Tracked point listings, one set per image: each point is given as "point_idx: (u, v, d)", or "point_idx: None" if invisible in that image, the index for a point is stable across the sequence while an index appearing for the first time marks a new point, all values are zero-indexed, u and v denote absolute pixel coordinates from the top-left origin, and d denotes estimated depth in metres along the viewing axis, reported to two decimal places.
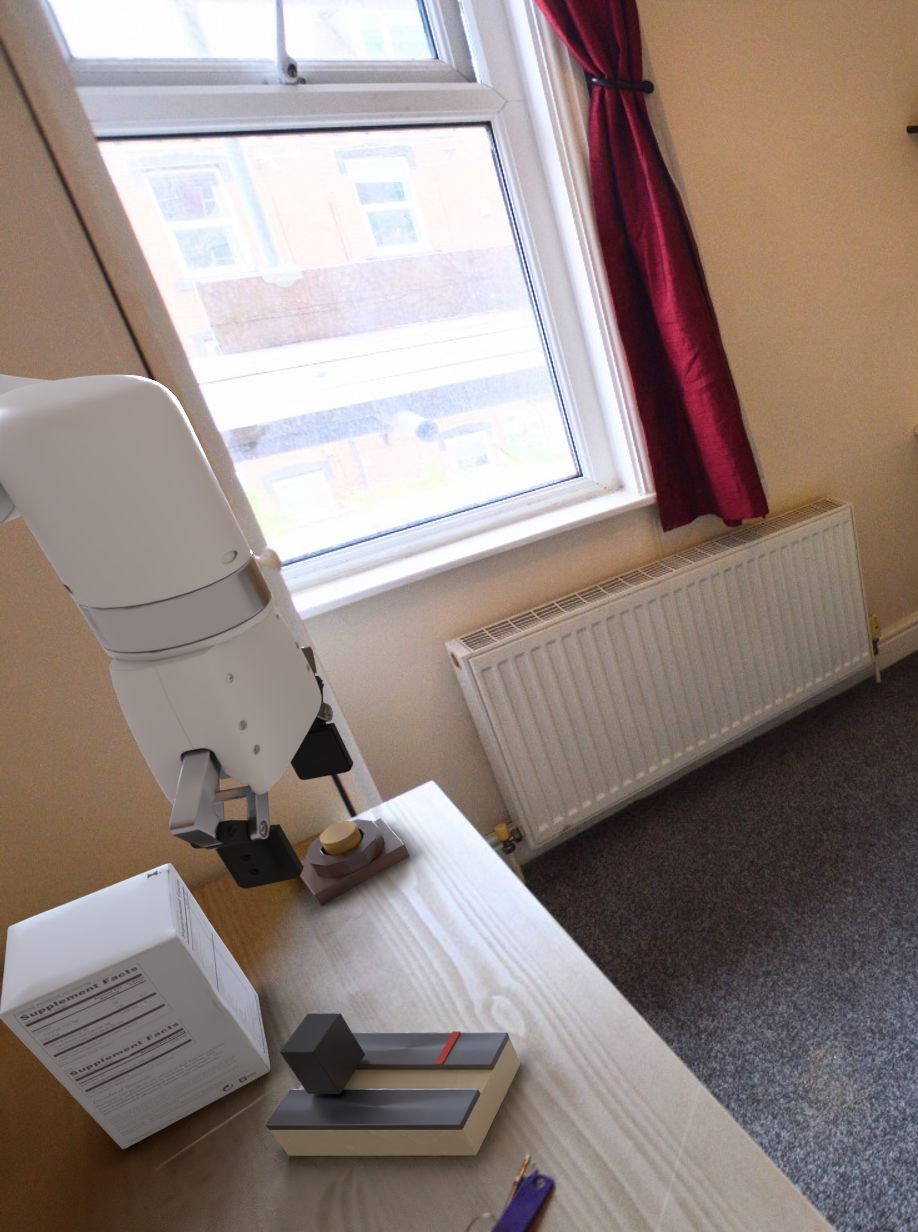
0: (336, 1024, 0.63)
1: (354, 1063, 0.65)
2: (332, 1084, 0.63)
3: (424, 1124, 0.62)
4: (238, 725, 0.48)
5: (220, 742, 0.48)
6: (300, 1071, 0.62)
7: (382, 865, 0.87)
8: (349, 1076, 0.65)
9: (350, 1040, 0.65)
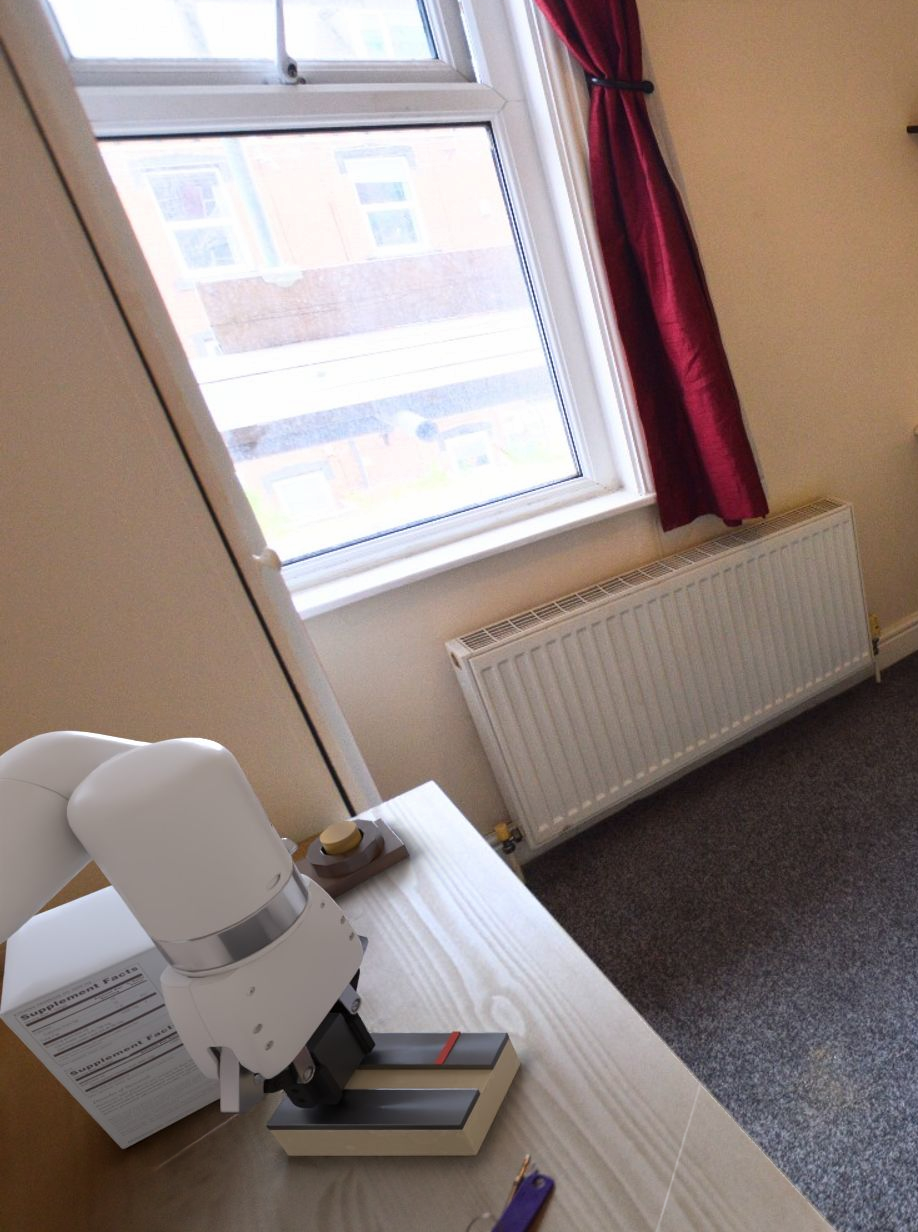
0: (336, 1024, 0.63)
1: (354, 1063, 0.65)
2: None
3: (424, 1124, 0.62)
4: (253, 1030, 0.55)
5: (237, 1044, 0.55)
6: None
7: (382, 865, 0.87)
8: (349, 1076, 0.65)
9: (350, 1040, 0.65)
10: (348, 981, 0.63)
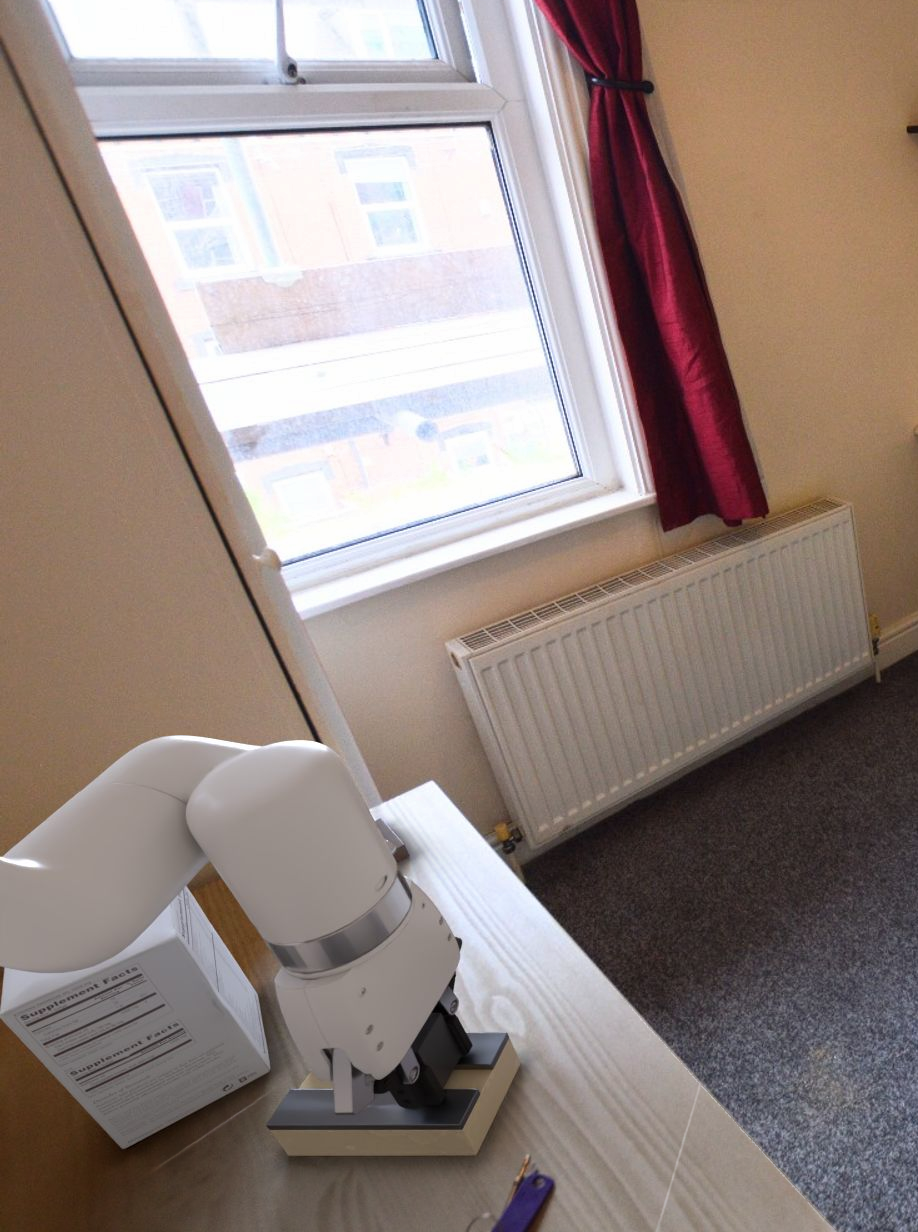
0: (437, 1024, 0.63)
1: (452, 1062, 0.65)
2: None
3: (424, 1124, 0.62)
4: (364, 1031, 0.55)
5: (349, 1045, 0.55)
6: None
7: None
8: (448, 1076, 0.65)
9: (449, 1040, 0.65)
10: (447, 982, 0.63)
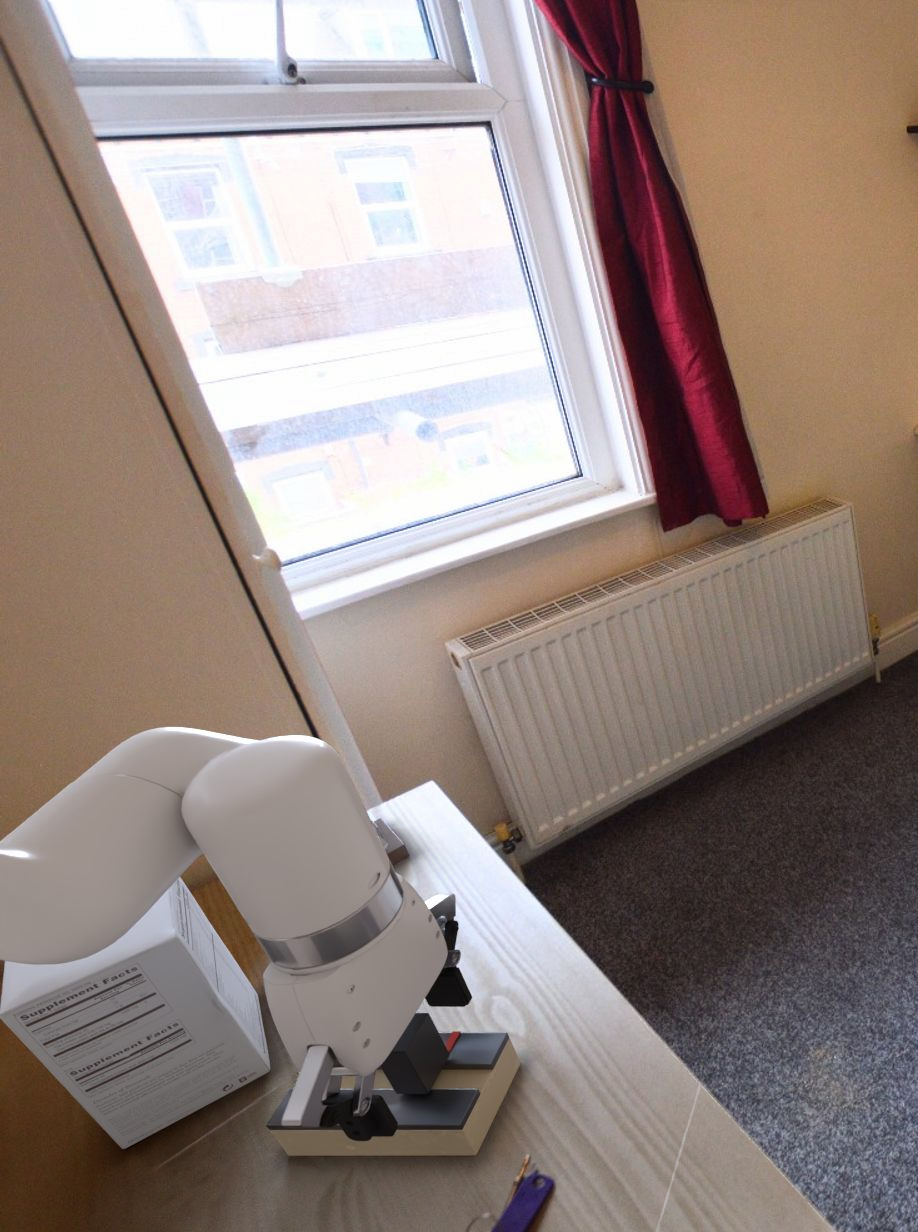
0: (425, 1024, 0.63)
1: (440, 1063, 0.65)
2: (421, 1084, 0.63)
3: (424, 1124, 0.62)
4: (352, 1028, 0.55)
5: (336, 1042, 0.55)
6: (390, 1071, 0.62)
7: None
8: (436, 1076, 0.65)
9: (437, 1040, 0.65)
10: (434, 979, 0.63)
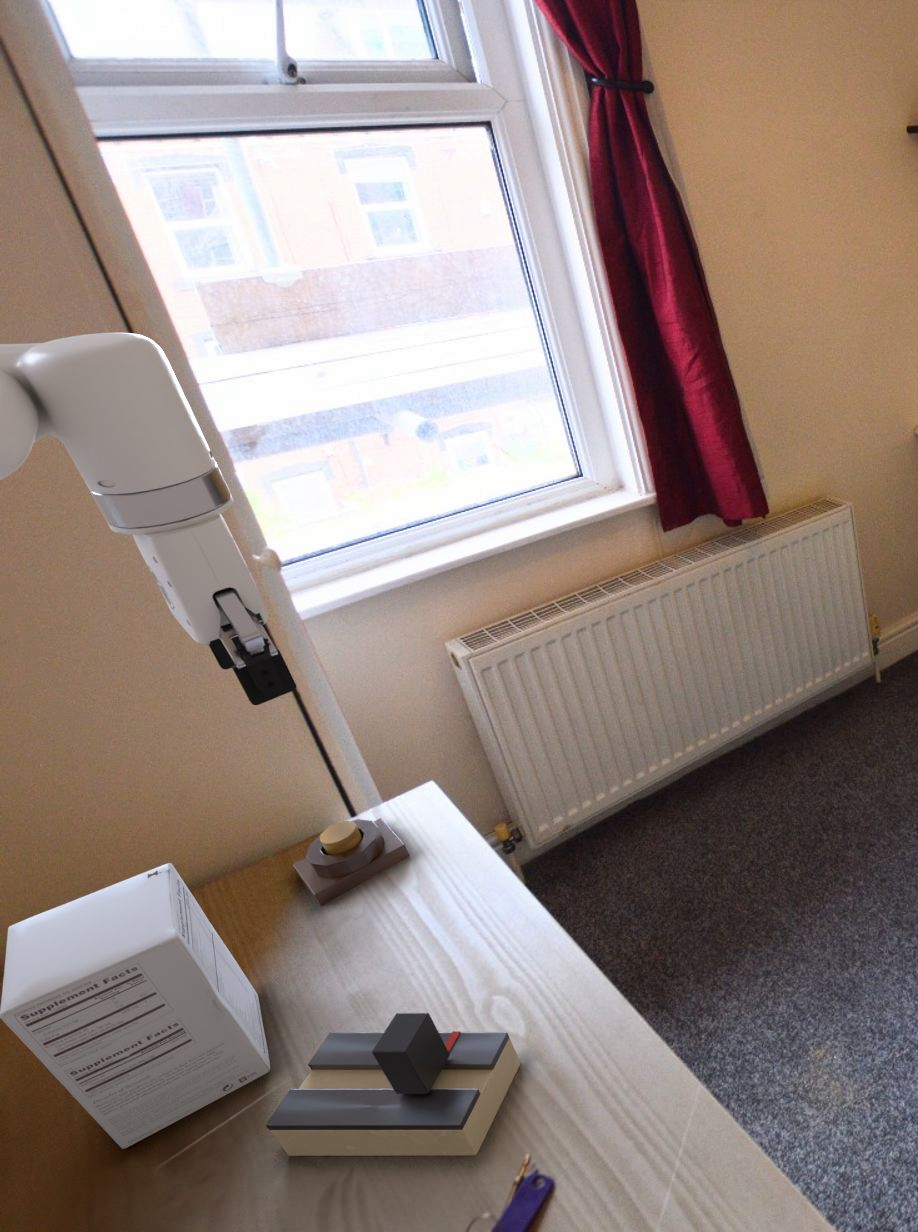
0: (425, 1024, 0.63)
1: (440, 1063, 0.65)
2: (421, 1084, 0.63)
3: (424, 1124, 0.62)
4: (247, 569, 0.69)
5: (240, 581, 0.69)
6: (390, 1071, 0.62)
7: (382, 865, 0.87)
8: (436, 1076, 0.65)
9: (437, 1040, 0.65)
10: None
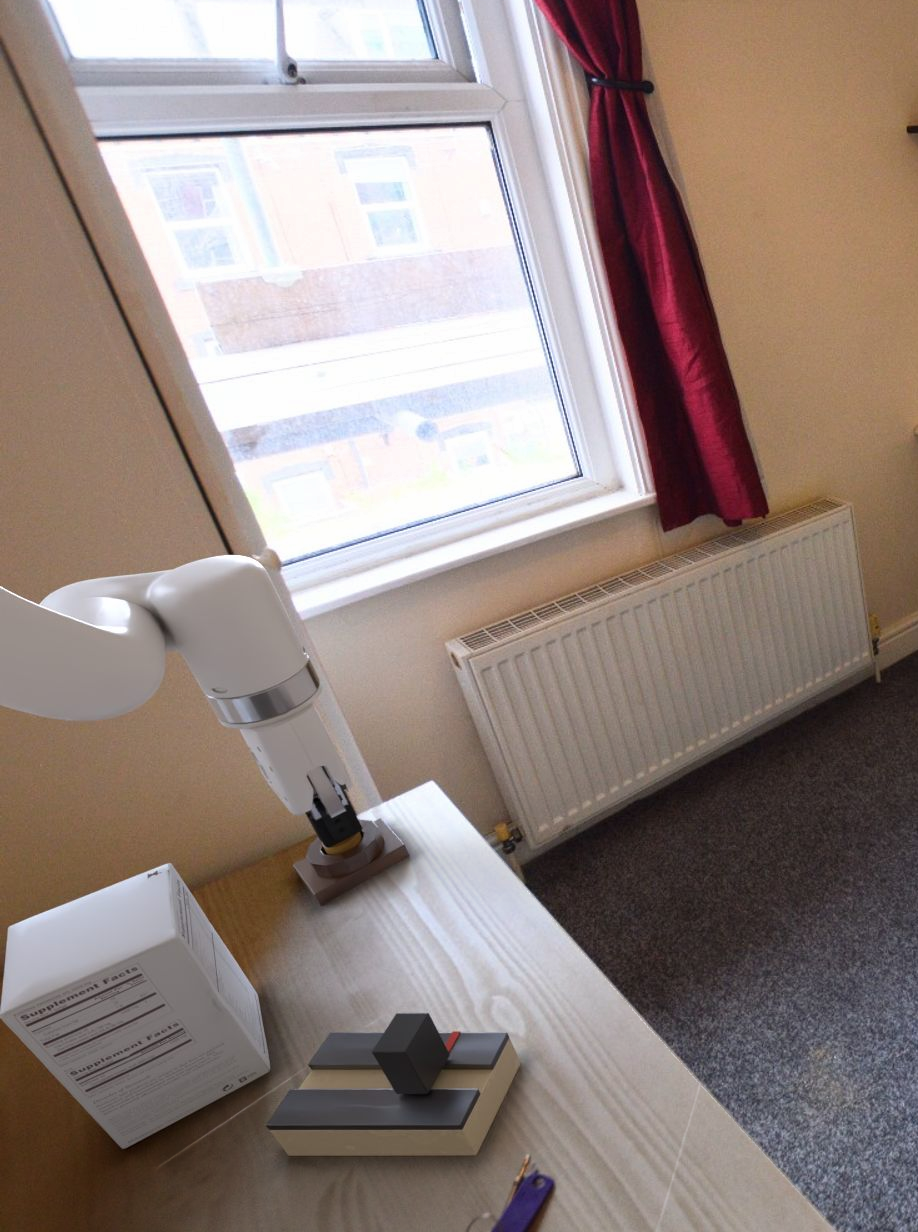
0: (425, 1024, 0.63)
1: (440, 1063, 0.65)
2: (421, 1084, 0.63)
3: (424, 1124, 0.62)
4: (335, 748, 0.79)
5: (329, 760, 0.78)
6: (390, 1071, 0.62)
7: (382, 865, 0.87)
8: (436, 1076, 0.65)
9: (437, 1040, 0.65)
10: None
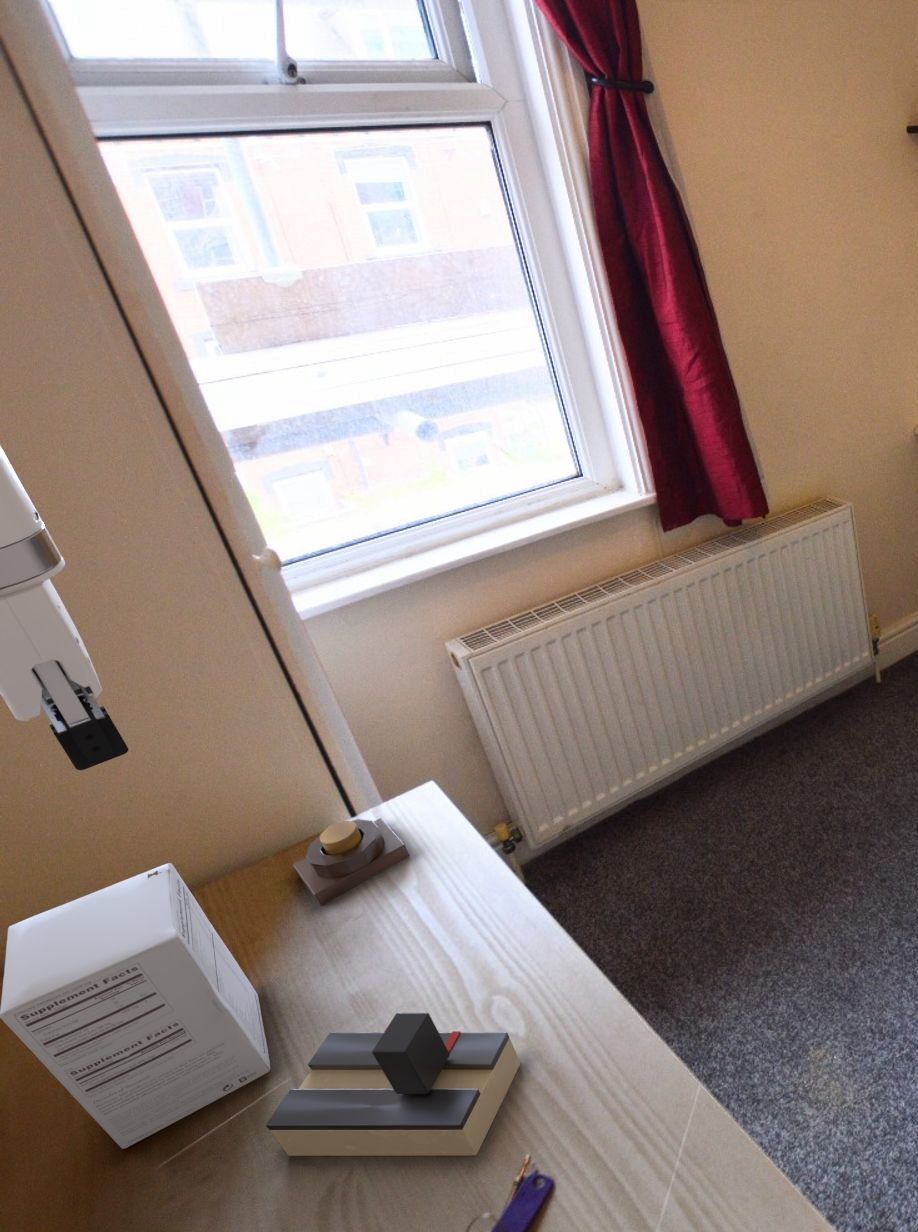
0: (425, 1024, 0.63)
1: (440, 1063, 0.65)
2: (421, 1084, 0.63)
3: (424, 1124, 0.62)
4: (75, 640, 0.64)
5: (65, 653, 0.64)
6: (390, 1071, 0.62)
7: (382, 865, 0.87)
8: (436, 1076, 0.65)
9: (437, 1040, 0.65)
10: None
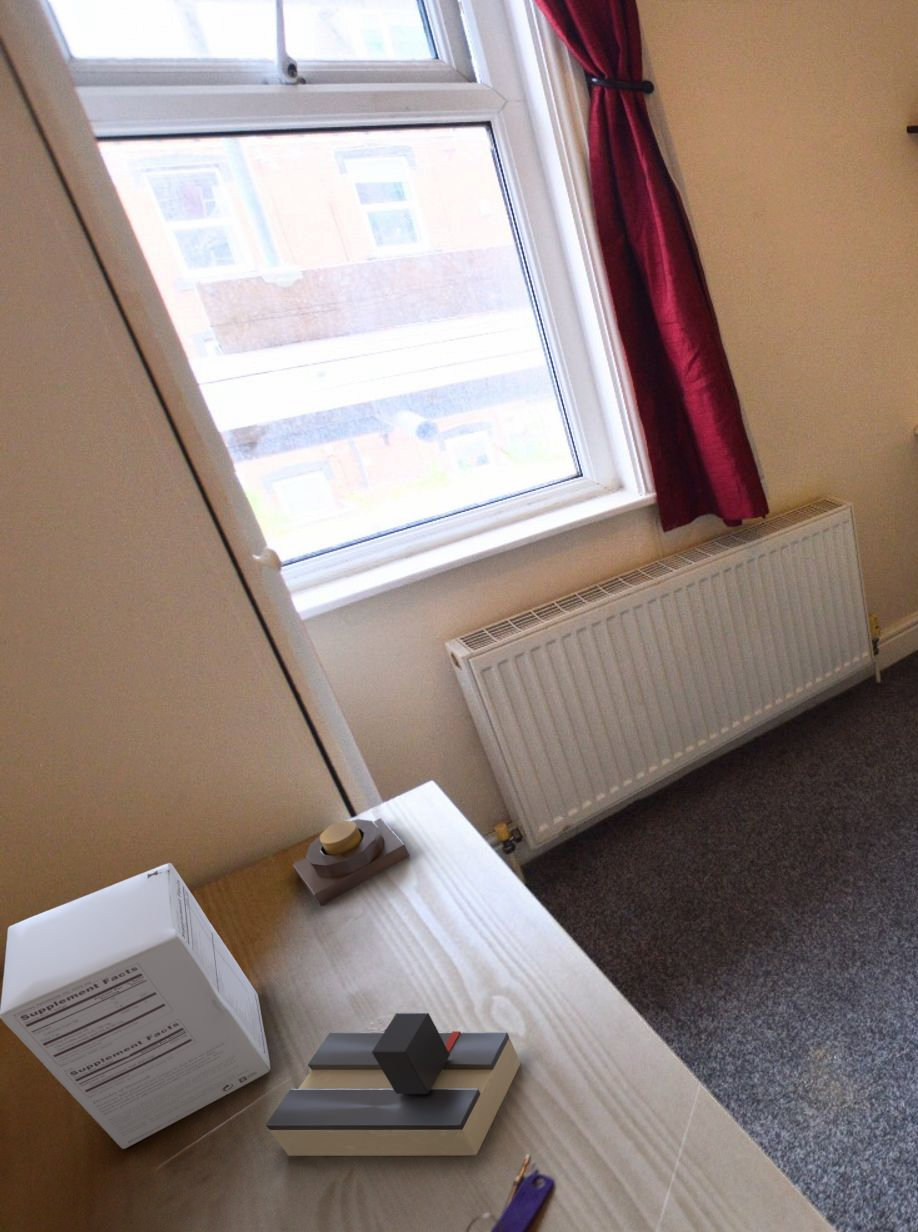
0: (425, 1024, 0.63)
1: (440, 1063, 0.65)
2: (421, 1084, 0.63)
3: (424, 1124, 0.62)
4: None
5: None
6: (390, 1071, 0.62)
7: (382, 865, 0.87)
8: (436, 1076, 0.65)
9: (437, 1040, 0.65)
10: None
